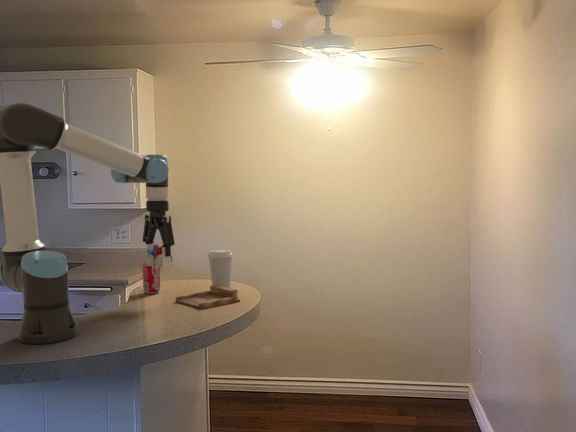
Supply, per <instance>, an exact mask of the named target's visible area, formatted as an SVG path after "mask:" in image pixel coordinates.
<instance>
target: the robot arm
mask: <svg viewBox="0 0 576 432" xmlns="http://www.w3.org/2000/svg"><path fill="white" fill-rule="evenodd" d="M36 147H38V148H39V147H40V148H44V149H47V150H49V151H54V150H56V149H57V150H59V151H62V152H64V153H68V154H71V155H73V156H75V157H78V158H81V159H84V160H86V161H89V162H92V163H94V164H96V165H97V164H98V165H100V166H103V167H105V168H108V169H110V175H111V179H112V180H113V182H115V183H117V184H133V183H134V184H141V183H142V184H145V199H146V201H145V208H146V209H145V210H146V212H147V213H148V212H149V214H145V215H144V227H143V233H142V242H144V244H145V246H146V247H145V248H146V250H147V249H148V248H151V249H153V246H154V245H155V238H156V237H155V236H156V233H157V230H158V231H159V235H160V238H161V241H162V245H163V246H162V245H161V246H162V261H163V266H162V267H171V265H172V262H171V255H172V250H171V247H172V246H175V245H176V244H175V238H174V233H173V226H172V216H170V215H169V216H167V215H166V212H168V211H169V210H170V209H169V205H170V204H169V200H167V199H169V192H170V191H169V172H170V171H169V163H168V156H167V155H166V154H145V155H144V154H141V153H140V152H137V151H135V150H132V149H129V148H126V147H125V146H122V145H120V144H117V143H115V142H112V141H110V140H107V139H105V138H102V137H100V136H97V135H96V134H93V133H91V132H88V131H85V130H83V129H81V128H78V127H76V126H74V125H71V124H68V123H66V120H65V118H63V117H62V116H59V115H56V114H54V113H52V112H49V111H47V110H46V109H42V108H40V107H38V106H36V105H33V104H30V103H26V102H16V103H15V102H14V103H12V104H8V105H2V106H0V191H1V192H0V193H1V200H2V211H3V217H4V218H3V219H4V227H5V236H6V238H5V239H6V244H5V245H4V246H3V248H2V249H1V253H2V260H1V262H0V280H1V282H2V283H3V284H4V285H5V286H6V287H7V288H8V289H10V290H12V291H13V292H16V293H21V294H22V295H23V314H22V317H21V321H20V325H19V329H18V332H17V333H18V334H17V335H18V341H19V342H20V343H23V344H28V345H29V344H30V345H41V344H52V343H57V342H58V343H59V342H62V341H66V340H70V339H72V338H74V337H75V336H77V335H78V325H77V321H76V320H75V318H74V315H73V313H72V311H71V310H72V309H71V308H70V294H69V289H70V288H69V272H68V271H69V264H68V261H67V260H68V259H67V257H66V255H65V254H64V253H62V252H60V251H54V250H53V251H51V250H46V244H45V243H44V242H42V241H41V240H40V238H39V237H40V236H39V228H38V227H39V226H38V217H37V208H36V207H37V206H36V199H35V198H36V196H35V188H34V187H35V186H34V178H33V169H32V168H33V166H32V160H31V159H32V157H33V156H34V155H35V154H36V152H37V151H36ZM146 255H148V253H147V252H146Z"/></svg>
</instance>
